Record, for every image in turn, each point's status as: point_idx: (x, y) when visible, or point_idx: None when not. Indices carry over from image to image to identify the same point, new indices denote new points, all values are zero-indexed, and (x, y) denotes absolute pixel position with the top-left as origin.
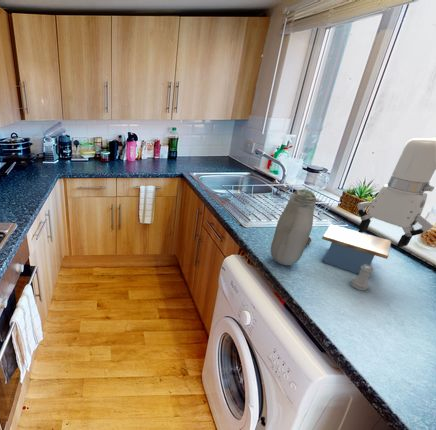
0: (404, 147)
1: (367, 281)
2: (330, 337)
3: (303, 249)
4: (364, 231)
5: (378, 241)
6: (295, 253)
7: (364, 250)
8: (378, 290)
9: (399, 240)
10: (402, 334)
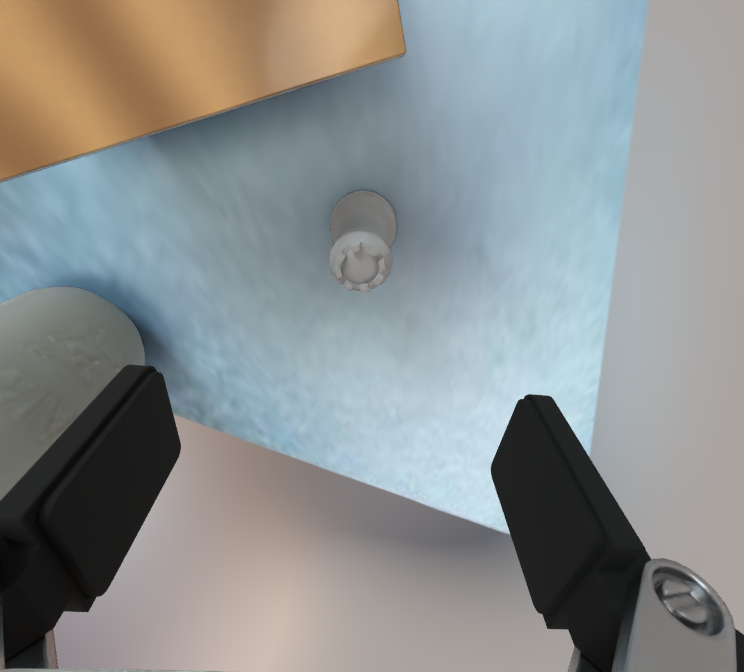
0: None
1: (385, 238)
2: (415, 498)
3: (101, 387)
4: (167, 402)
5: None
6: None
7: (242, 105)
8: (428, 166)
9: (512, 536)
10: (535, 375)
